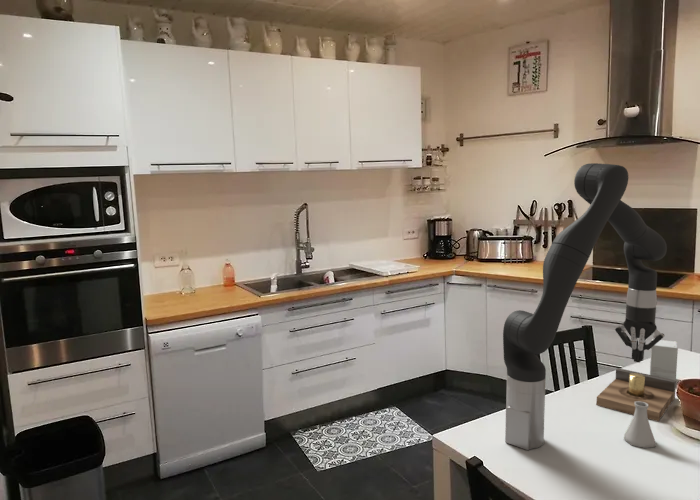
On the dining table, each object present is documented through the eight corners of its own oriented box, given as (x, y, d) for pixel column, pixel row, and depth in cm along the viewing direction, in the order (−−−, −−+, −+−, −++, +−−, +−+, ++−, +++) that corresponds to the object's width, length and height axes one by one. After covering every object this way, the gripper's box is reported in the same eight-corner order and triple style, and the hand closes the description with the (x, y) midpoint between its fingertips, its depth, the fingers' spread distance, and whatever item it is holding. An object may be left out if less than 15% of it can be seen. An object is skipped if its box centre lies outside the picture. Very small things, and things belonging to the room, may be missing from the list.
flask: (660, 450, 124) (663, 411, 123) (628, 447, 126) (630, 409, 125) (649, 435, 131) (652, 398, 130) (619, 433, 133) (621, 396, 132)
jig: (658, 421, 139) (659, 402, 138) (596, 404, 150) (597, 387, 149) (674, 397, 153) (675, 380, 153) (617, 384, 164) (617, 368, 163)
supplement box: (675, 378, 168) (678, 341, 166) (675, 386, 162) (678, 347, 160) (649, 374, 172) (651, 338, 170) (648, 382, 166) (650, 344, 164)
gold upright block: (641, 405, 149) (642, 379, 148) (626, 401, 151) (627, 375, 150) (645, 401, 152) (646, 375, 151) (630, 397, 154) (631, 372, 153)
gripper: (612, 302, 149) (609, 359, 152) (664, 309, 141) (660, 370, 143) (620, 298, 155) (616, 353, 157) (670, 305, 146) (666, 363, 148)
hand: (637, 361), depth 150 cm, fingers closed
